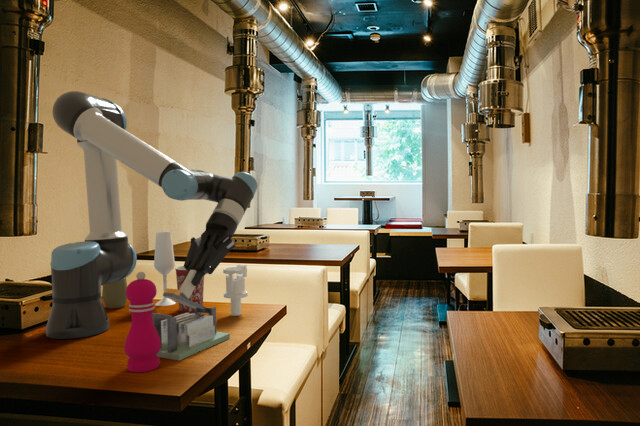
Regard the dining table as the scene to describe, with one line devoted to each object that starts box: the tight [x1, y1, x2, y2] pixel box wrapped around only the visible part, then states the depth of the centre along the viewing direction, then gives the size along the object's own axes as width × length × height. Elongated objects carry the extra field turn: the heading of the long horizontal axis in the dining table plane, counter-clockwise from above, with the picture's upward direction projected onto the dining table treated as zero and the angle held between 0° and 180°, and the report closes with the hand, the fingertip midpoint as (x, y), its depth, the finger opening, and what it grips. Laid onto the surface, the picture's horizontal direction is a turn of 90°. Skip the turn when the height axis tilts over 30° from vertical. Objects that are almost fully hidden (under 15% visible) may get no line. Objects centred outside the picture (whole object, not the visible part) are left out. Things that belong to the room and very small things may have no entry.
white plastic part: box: [222, 264, 248, 317], centre depth 146 cm, size 7×7×15 cm
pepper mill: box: [123, 271, 161, 373], centre depth 101 cm, size 7×7×20 cm
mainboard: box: [156, 331, 231, 361], centre depth 116 cm, size 18×11×1 cm, turn 154°
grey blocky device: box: [152, 306, 217, 353], centre depth 115 cm, size 16×9×8 cm, turn 154°
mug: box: [174, 265, 205, 313], centre depth 155 cm, size 13×9×14 cm
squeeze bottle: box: [101, 277, 128, 309], centre depth 159 cm, size 8×8×18 cm
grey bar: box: [162, 287, 210, 315], centre depth 116 cm, size 15×3×2 cm, turn 153°
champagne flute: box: [153, 230, 177, 307], centre depth 162 cm, size 7×7×24 cm
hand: (183, 295), depth 114 cm, fingers closed
